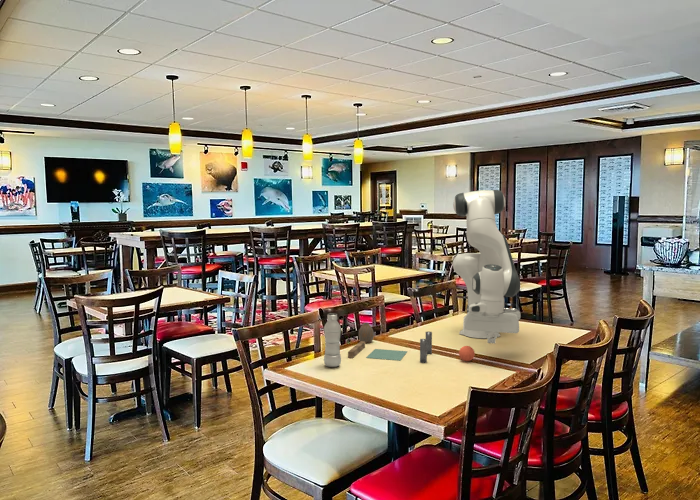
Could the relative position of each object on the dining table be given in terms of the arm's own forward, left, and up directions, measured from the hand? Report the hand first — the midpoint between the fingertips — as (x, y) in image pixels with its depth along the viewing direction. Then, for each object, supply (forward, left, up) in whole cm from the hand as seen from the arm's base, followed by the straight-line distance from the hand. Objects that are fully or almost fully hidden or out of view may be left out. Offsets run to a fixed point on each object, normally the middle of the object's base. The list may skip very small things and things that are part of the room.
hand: (491, 343), depth 200 cm
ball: (-1, -9, -5) cm, 11 cm away
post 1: (+6, -25, -8) cm, 27 cm away
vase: (-19, -55, -8) cm, 59 cm away
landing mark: (-1, -41, -8) cm, 42 cm away
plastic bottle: (+21, -57, -8) cm, 62 cm away
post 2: (-7, -25, -8) cm, 27 cm away
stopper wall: (-1, -54, -8) cm, 55 cm away
